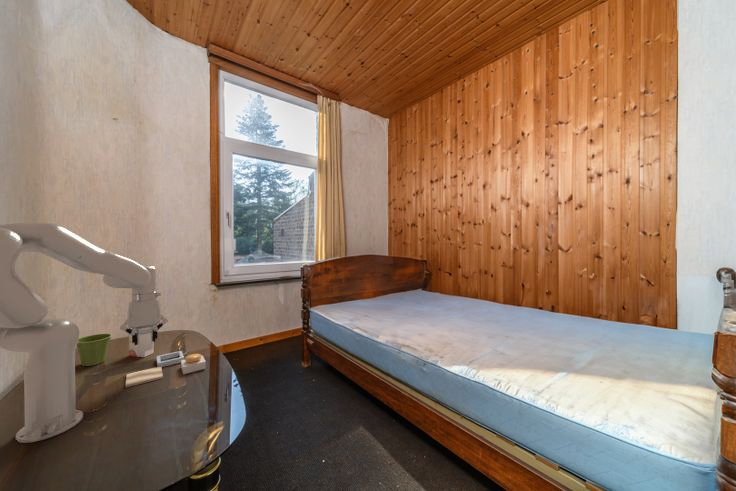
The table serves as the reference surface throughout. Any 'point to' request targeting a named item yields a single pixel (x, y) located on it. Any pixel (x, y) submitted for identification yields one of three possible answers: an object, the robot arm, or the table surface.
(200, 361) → the white square base
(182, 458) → the table surface
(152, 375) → the wooden pad
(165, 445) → the table surface
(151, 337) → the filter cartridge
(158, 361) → the filter socket
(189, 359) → the orange mushroom button
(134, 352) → the ink cartridge box
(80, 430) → the table surface
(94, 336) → the plant pot
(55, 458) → the table surface
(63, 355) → the robot arm
